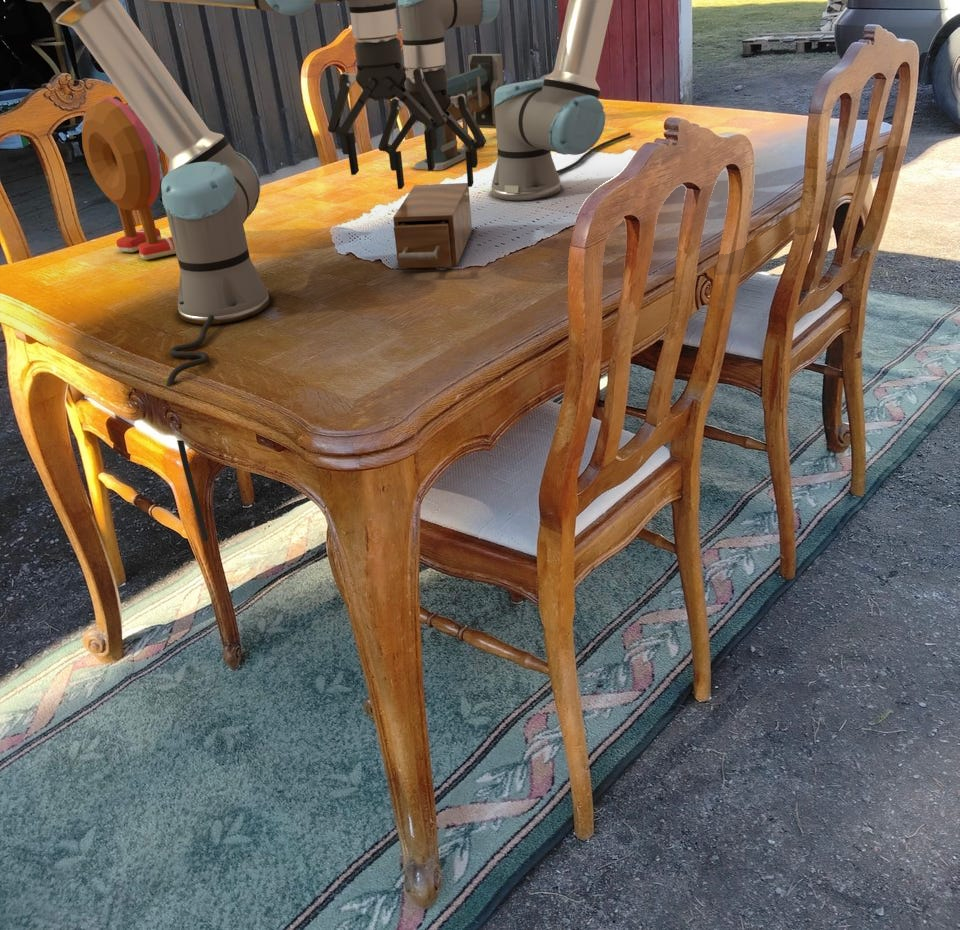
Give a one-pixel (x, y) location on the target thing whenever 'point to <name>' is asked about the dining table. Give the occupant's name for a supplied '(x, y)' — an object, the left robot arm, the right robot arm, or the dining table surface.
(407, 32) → the right robot arm
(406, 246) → the drawer
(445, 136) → the clamp
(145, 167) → the toy
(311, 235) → the dining table surface
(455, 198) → the cabinet
